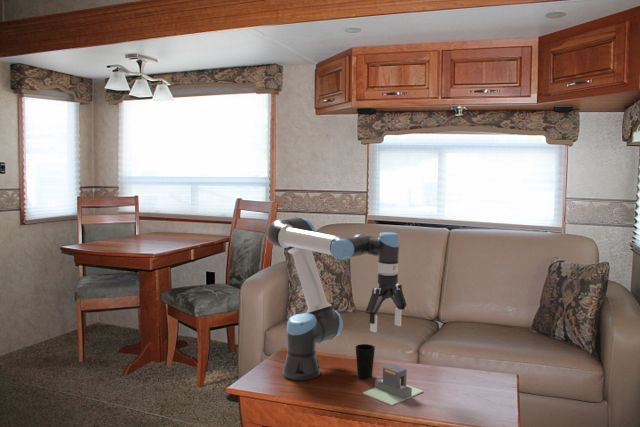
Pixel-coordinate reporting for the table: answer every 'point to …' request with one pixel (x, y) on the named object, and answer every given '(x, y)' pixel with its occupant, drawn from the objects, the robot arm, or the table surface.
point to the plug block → (394, 376)
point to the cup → (365, 360)
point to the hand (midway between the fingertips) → (385, 328)
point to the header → (391, 392)
